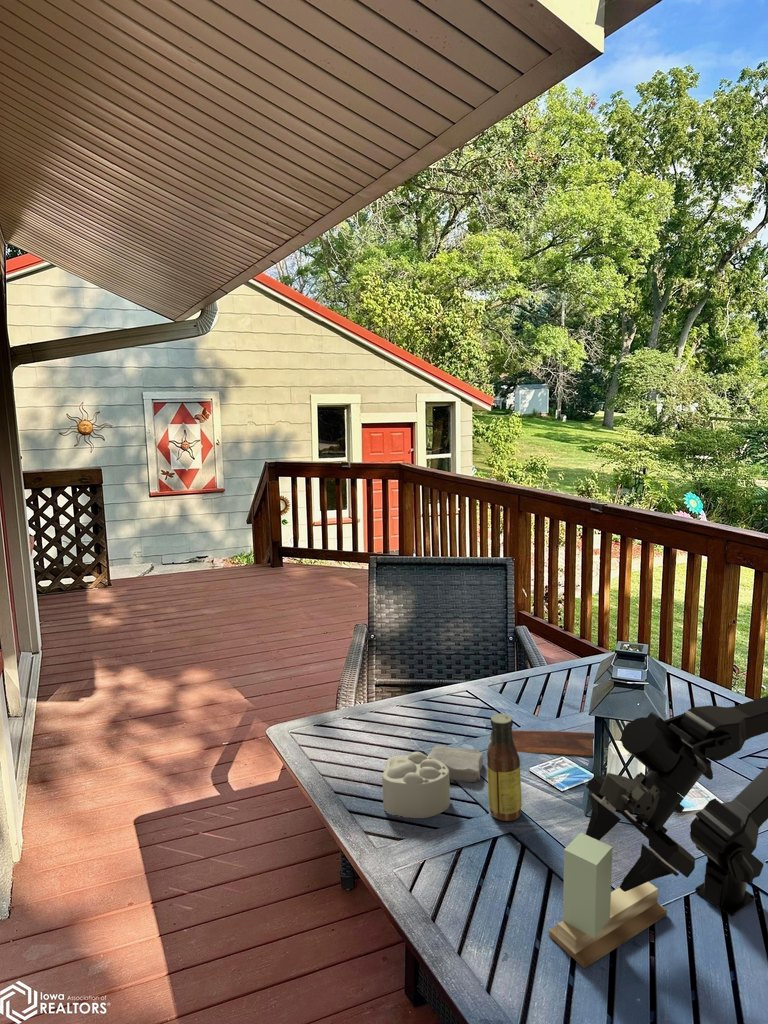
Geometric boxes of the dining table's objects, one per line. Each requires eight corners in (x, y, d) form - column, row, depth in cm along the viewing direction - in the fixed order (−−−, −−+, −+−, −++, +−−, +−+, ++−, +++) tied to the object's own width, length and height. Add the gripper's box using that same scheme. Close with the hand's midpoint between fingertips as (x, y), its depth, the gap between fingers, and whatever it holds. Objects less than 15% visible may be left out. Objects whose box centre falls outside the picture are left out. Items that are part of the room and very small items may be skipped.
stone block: (432, 761, 156) (422, 778, 146) (433, 740, 156) (423, 755, 146) (485, 770, 153) (478, 787, 143) (486, 748, 152) (479, 764, 143)
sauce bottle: (526, 809, 135) (527, 715, 131) (513, 827, 130) (513, 730, 126) (495, 799, 138) (495, 707, 134) (481, 815, 133) (480, 721, 129)
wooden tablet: (489, 746, 156) (491, 720, 165) (489, 755, 157) (491, 728, 166) (612, 756, 151) (607, 728, 160) (611, 764, 151) (606, 736, 161)
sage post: (579, 901, 106) (580, 832, 104) (610, 918, 103) (612, 846, 101) (562, 920, 103) (564, 849, 100) (594, 938, 99) (596, 865, 97)
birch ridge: (629, 887, 114) (630, 869, 113) (666, 915, 108) (667, 895, 107) (549, 935, 105) (549, 915, 104) (584, 968, 99) (584, 947, 98)
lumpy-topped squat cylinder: (389, 784, 145) (387, 746, 143) (451, 788, 142) (450, 750, 141) (381, 815, 134) (379, 775, 133) (448, 820, 132) (447, 779, 131)
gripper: (596, 727, 109) (535, 806, 108) (680, 793, 92) (608, 888, 91) (637, 762, 113) (578, 838, 112) (726, 831, 95) (657, 923, 94)
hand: (602, 868), depth 102 cm, fingers open, 9 cm apart
